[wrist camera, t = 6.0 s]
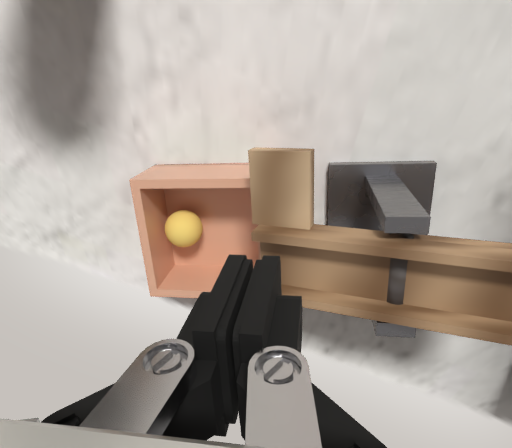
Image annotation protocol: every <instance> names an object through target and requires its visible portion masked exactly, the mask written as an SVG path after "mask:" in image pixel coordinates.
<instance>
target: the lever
mask: <svg viewBox="0 0 512 448" xmlns="http://www.w3.org/2000/svg"><path fill="white" fill-rule="evenodd" d="M248 156H249V173H250V190H251V208H252V224H259V225H258V226H257V227H256V228H255V229H254V230H253V231H252V232H251V236H252V241H257V242H260V249H261V260H262V257H263V255H269V256H280V260H281V290H282V295H290V296H302V307H304V308H310V309H315V310H321V311H326V312H332V313H337V314H343V315H348V316H353V317H359V318H364V319H370V320H375V321H381V322H386V323H392V324H397V325H403V326H408V327H414V328H419V329H425V330H430V331H436V332H441V333H447V334H452V335H457V336H463V337H468V338H474V339H479V340H485V341H490V342H496V343H501V344H507V345H512V243H502V242H491V241H481V240H471V239H461V238H450V237H440V236H430V235H420V234H410V233H384V231H379V230H368V229H358V228H348V227H337V226H327V225H317V224H314V149H295V148H252V149H250V150H248Z"/></svg>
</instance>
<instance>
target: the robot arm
mask: <svg viewBox="0 0 512 448" xmlns="http://www.w3.org/2000/svg"><path fill="white" fill-rule="evenodd" d="M301 343H302V296H290V295H282V290H281V260H280V256H269V255H263V257H262V260H256V262H255V265H254V268H253V261H252V259H247V256H246V255H231V254H229V256H228V257H227V259H226V262H225V264H224V266H223V268H222V270H221V272H220V274H219V276H218V278H217V280H216V282H215V284H214V286H213V288H212V290H211V292H202V293H201V294H200V295H199V297H198V299H197V301H196V303H195V305H194V307H193V309H192V310H191V312H190V314H189V316H188V318H187V320H186V322H185V324H184V325H183V327H182V329H181V331H180V333H179V335H178V337H177V339H166V340H162V341H159V342H156V343H154V344H152V345H150V346H149V347H147V348H146V349H145V350H144V351H142V353H140V355H139V356H138V357H137V358H136V359H135V361H134V362H133V363H132V364H131V365H130V367H129V368H128V369H127V370H126V371H125V372H124V374H123V375H122V376H121V377H120V378H119V380H118V381H117V382H116V383H115V384H112V385H110V386H108V387H106V388H105V389H102V390H100V391H98V392H96V393H94V394H92V395H90V396H88V397H86V398H84V399H81V400H79V401H78V402H75V403H73V404H71V405H69V406H67V407H65V408H63V409H61V410H59V411H56V412H55V413H53V414H52V415H50V416H48V417H47V418H45V419H44V420H43V421H42V422H41V423H40V421H39V418H34V419H24V420H9V419H0V448H387V447H386V446H385V445H384V444H383V443H381V442H380V441H379V440H378V439H377V438H375V437H374V436H373V435H372V434H371V433H370V432H368V431H367V430H366V429H365V428H364V427H363V426H361V425H360V424H359V423H358V422H357V421H355V419H353V418H352V417H351V416H350V415H349V414H347V413H346V412H345V411H344V410H343V409H342V408H341V407H339V406H338V405H337V404H336V403H335V402H334V401H332V400H331V399H330V398H329V397H328V396H327V395H325V394H324V393H323V392H322V391H321V390H320V389H318V388H317V387H316V386H315V385H314V384H313V383H311V378H310V373H309V366H308V363H307V360H306V358H305V357H304V356H303V355H302V354H301ZM238 411H239V418H240V425H241V436H242V437H243V438H244V440H245V445H240V444H231V443H223V442H214V441H207V439H209V438H210V437H212V436H214V435H216V436H226V433H227V430H228V426H229V423H231V424H235V423H236V419H237V415H238Z"/></svg>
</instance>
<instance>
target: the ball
mask: <svg viewBox="0 0 512 448" xmlns="http://www.w3.org/2000/svg"><path fill="white" fill-rule="evenodd" d="M202 231H203V226H202V222H201V220H200V218H199V217H198V216H197V215H196V214H195V213H193V212H191V211H188V210H179V211H176V212H174V213H173V214H171V215H170V216H169V217H168V219H167V221H166V223H165V234H166V237H167V238H168V240H169V241H170V242H171V243H172V244H174V245H176V246H178V247H189V246H192V245H194V244H195V243H196V242H197V241H198V240H199V239H200V237H201V235H202Z"/></svg>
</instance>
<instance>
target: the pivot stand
mask: <svg viewBox="0 0 512 448" xmlns="http://www.w3.org/2000/svg"><path fill="white" fill-rule="evenodd" d="M436 164H437V163H436V162H434V161H398V162H342V163H329V195H328V226H337V227H348V228H358V229H368V230H379V231H384V233H410V234H420V235H427V234H428V233H429V226H430V218H431V217H430V211H431V203H432V195H433V188H434V180H435V172H436ZM372 321H373V326H374V330H375V334H376V336H395V337H414V338H415V333H416V328H414V327H408V326H403V325H397V324H392V323H386V322H381V321H375V320H372Z"/></svg>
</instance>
